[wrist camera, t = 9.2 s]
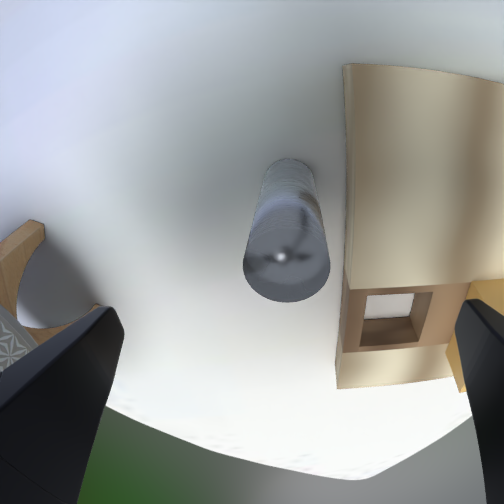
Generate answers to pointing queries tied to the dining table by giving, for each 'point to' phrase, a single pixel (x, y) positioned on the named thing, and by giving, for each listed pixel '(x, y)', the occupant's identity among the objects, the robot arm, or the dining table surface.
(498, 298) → the block
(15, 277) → the planter
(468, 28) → the dining table surface
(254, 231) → the peg
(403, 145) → the subfloor board
